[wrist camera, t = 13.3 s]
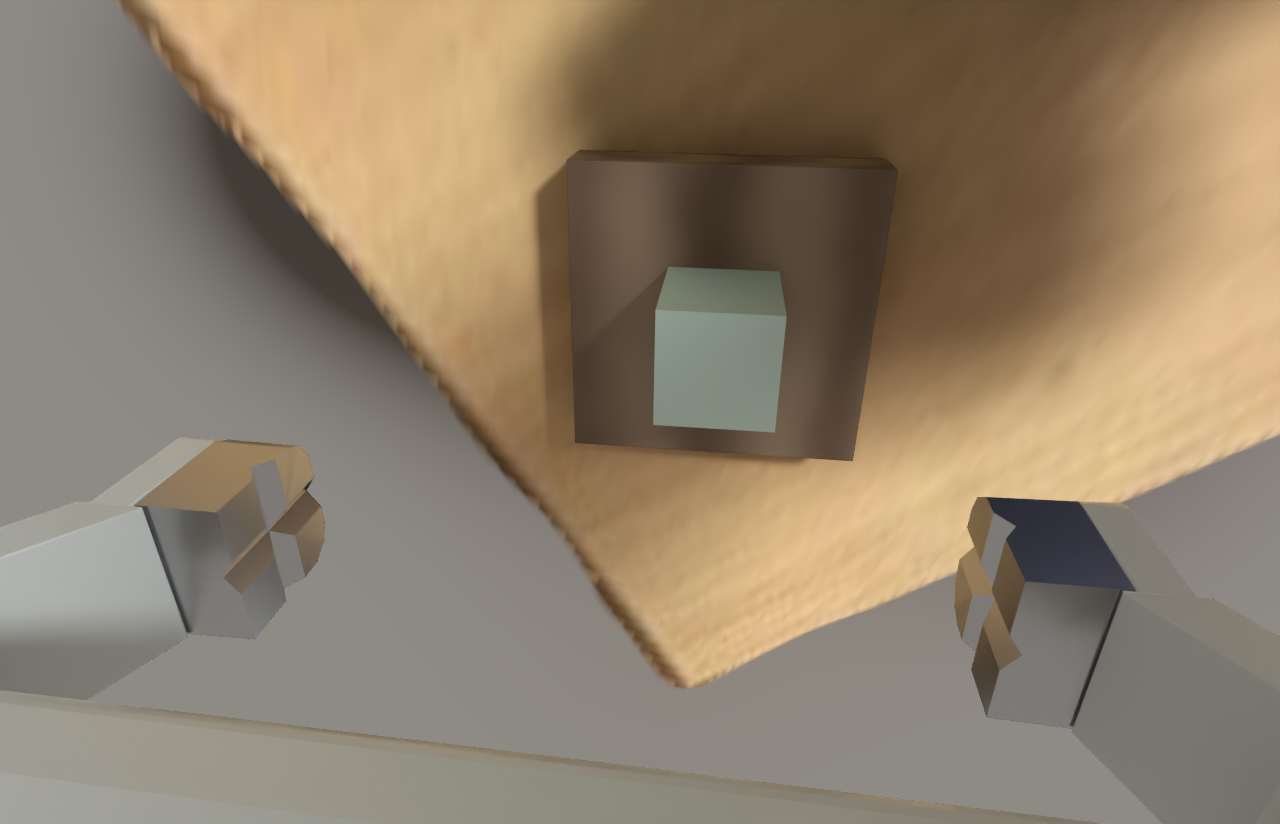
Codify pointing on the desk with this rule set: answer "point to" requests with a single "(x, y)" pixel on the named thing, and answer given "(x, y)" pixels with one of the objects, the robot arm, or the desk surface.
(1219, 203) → the desk surface
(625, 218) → the walnut base
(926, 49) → the desk surface
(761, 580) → the desk surface
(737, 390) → the sage block
